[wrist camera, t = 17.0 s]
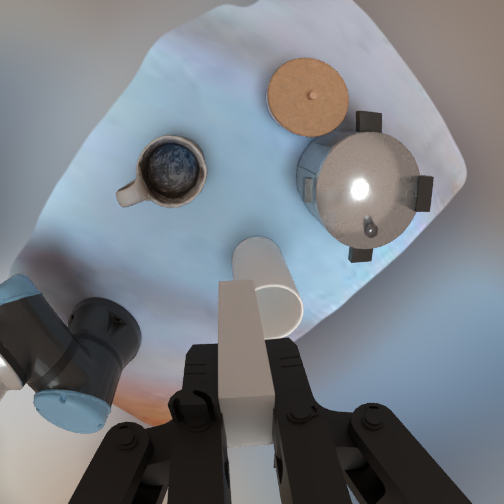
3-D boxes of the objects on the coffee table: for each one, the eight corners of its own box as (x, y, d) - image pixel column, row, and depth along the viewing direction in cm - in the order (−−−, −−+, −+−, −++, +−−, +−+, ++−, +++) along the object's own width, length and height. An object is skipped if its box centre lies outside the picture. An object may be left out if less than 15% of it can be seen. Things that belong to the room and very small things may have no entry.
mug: (221, 173, 45) (221, 185, 36) (157, 219, 47) (141, 242, 38) (185, 122, 41) (174, 120, 32) (121, 171, 43) (96, 184, 34)
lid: (311, 249, 39) (315, 254, 38) (314, 128, 33) (318, 128, 32) (420, 243, 41) (425, 247, 39) (430, 139, 35) (437, 140, 33)
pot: (287, 239, 50) (302, 267, 40) (287, 110, 42) (305, 106, 32) (376, 235, 51) (406, 259, 42) (384, 117, 43) (419, 119, 33)
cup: (283, 236, 50) (308, 284, 35) (279, 281, 53) (299, 339, 38) (232, 236, 49) (236, 285, 34) (231, 281, 52) (235, 341, 38)
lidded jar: (284, 148, 44) (299, 153, 36) (246, 89, 40) (252, 79, 32) (342, 115, 43) (368, 114, 34) (306, 57, 39) (326, 42, 30)
